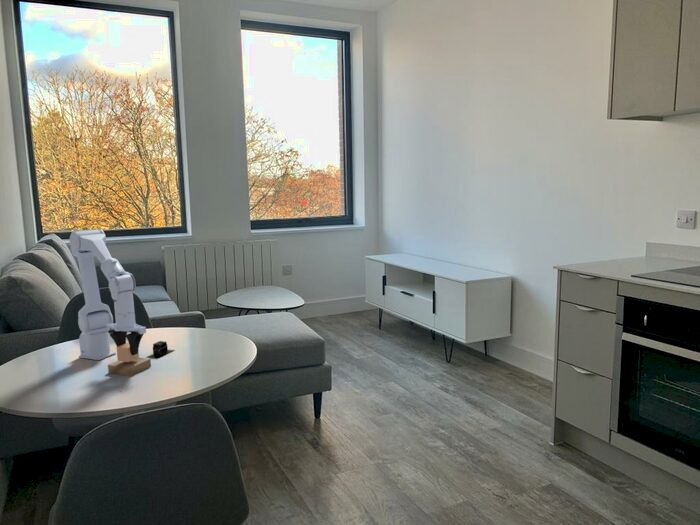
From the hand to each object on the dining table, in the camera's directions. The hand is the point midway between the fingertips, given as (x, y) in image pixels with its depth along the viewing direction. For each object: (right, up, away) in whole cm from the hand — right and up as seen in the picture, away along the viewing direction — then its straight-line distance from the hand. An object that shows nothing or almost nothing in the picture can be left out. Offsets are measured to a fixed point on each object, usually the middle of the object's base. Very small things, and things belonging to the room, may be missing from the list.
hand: (128, 353), depth 173 cm
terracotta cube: (0, -2, 0) cm, 2 cm away
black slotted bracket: (+5, -4, +16) cm, 17 cm away
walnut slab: (0, -6, +1) cm, 6 cm away
